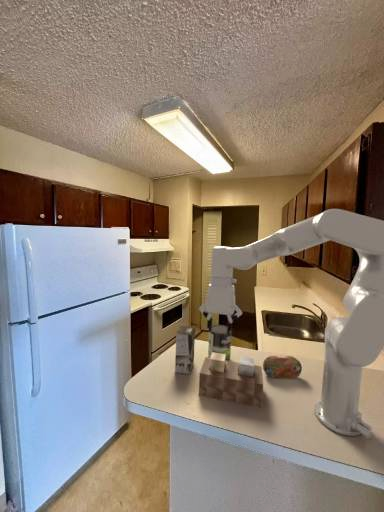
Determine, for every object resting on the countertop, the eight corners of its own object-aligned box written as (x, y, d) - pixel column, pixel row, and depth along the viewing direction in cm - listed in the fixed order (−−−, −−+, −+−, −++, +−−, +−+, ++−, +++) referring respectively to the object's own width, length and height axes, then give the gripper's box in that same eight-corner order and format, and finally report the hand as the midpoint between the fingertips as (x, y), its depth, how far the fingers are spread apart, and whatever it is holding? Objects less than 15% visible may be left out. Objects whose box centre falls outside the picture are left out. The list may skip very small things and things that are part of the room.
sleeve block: (260, 386, 84) (261, 366, 84) (261, 407, 74) (263, 384, 73) (204, 376, 90) (205, 357, 89) (198, 395, 79) (199, 373, 78)
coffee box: (190, 374, 91) (191, 335, 89) (174, 372, 92) (175, 333, 91) (194, 362, 99) (195, 326, 98) (180, 360, 101) (181, 325, 99)
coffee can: (235, 359, 103) (236, 329, 102) (220, 368, 96) (221, 335, 95) (217, 351, 110) (219, 322, 109) (202, 358, 103) (204, 328, 102)
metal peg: (252, 379, 82) (253, 358, 81) (252, 387, 77) (253, 366, 77) (238, 376, 83) (239, 356, 83) (237, 385, 78) (238, 363, 78)
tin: (264, 379, 89) (265, 358, 89) (261, 374, 93) (262, 354, 92) (301, 379, 90) (303, 359, 89) (297, 374, 93) (299, 355, 93)
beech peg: (224, 374, 84) (225, 354, 84) (223, 382, 80) (224, 361, 79) (211, 371, 86) (212, 352, 85) (209, 379, 81) (210, 358, 80)
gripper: (246, 281, 81) (244, 330, 83) (199, 277, 86) (198, 324, 87) (246, 285, 74) (243, 339, 76) (195, 281, 78) (193, 332, 80)
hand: (219, 330), depth 81 cm, fingers open, 5 cm apart
